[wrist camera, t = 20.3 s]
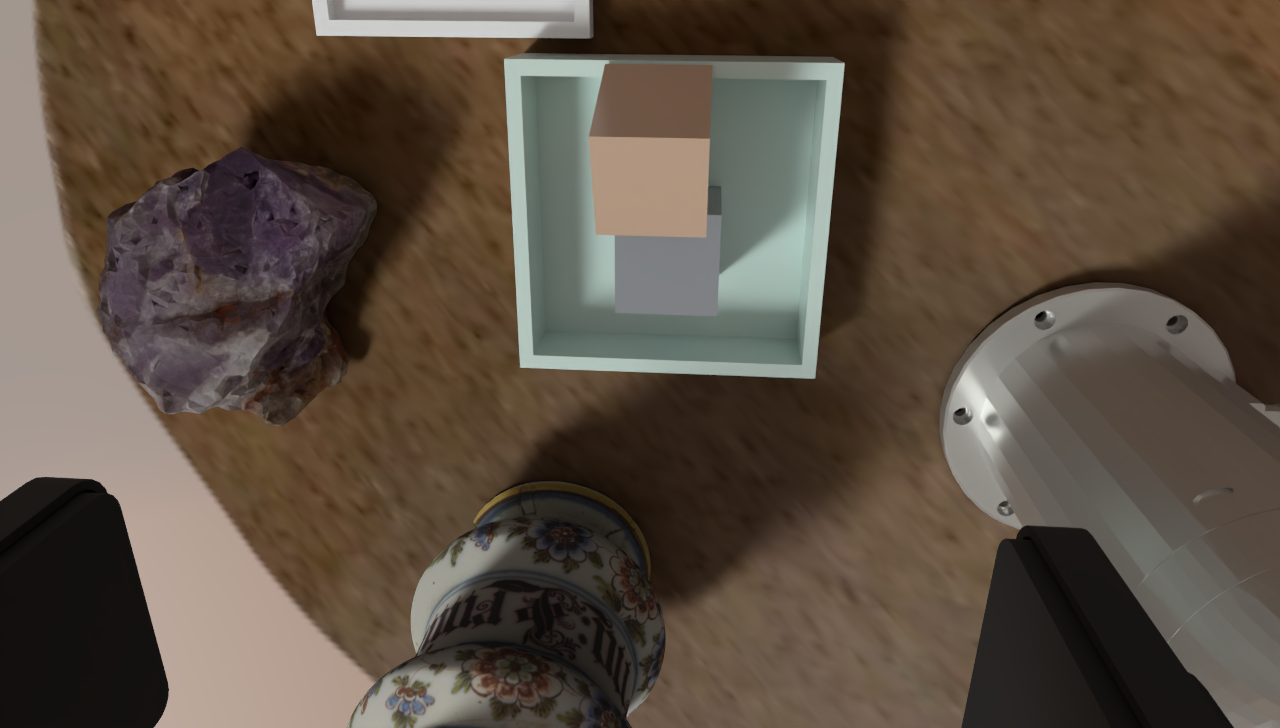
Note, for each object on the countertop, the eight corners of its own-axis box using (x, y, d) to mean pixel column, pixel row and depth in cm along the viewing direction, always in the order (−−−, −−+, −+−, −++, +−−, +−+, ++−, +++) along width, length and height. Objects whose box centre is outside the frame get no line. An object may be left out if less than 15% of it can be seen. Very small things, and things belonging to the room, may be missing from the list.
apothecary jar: (456, 440, 44) (297, 712, 27) (691, 484, 43) (675, 784, 27) (438, 627, 48) (294, 955, 32) (650, 667, 48) (616, 1017, 32)
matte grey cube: (721, 186, 37) (721, 215, 32) (717, 276, 38) (717, 316, 34) (627, 184, 37) (614, 212, 32) (627, 273, 39) (614, 312, 34)
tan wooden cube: (712, 65, 32) (709, 138, 28) (709, 159, 35) (706, 237, 31) (604, 64, 32) (588, 136, 29) (610, 157, 35) (595, 234, 31)
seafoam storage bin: (832, 56, 35) (844, 63, 32) (806, 347, 40) (815, 378, 37) (523, 52, 36) (503, 59, 33) (535, 337, 41) (520, 367, 38)
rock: (426, 208, 40) (220, 102, 39) (375, 230, 32) (112, 97, 31) (329, 418, 43) (134, 326, 42) (259, 489, 35) (12, 378, 33)
